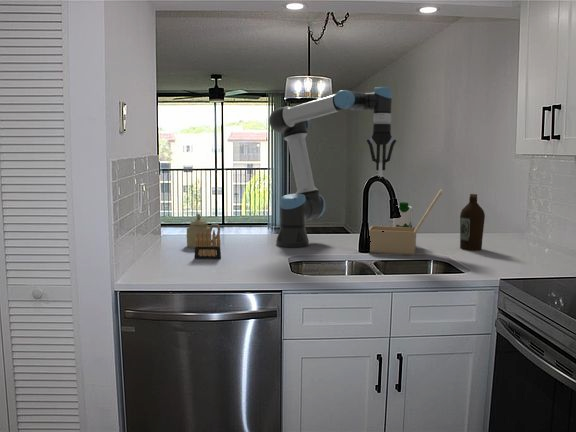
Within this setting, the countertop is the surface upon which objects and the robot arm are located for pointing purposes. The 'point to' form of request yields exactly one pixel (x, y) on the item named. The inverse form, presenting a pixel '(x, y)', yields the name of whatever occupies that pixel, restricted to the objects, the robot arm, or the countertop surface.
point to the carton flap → (429, 209)
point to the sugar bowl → (198, 226)
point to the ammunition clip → (202, 247)
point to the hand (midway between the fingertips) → (380, 177)
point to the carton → (392, 240)
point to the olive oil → (471, 225)
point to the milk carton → (404, 216)
